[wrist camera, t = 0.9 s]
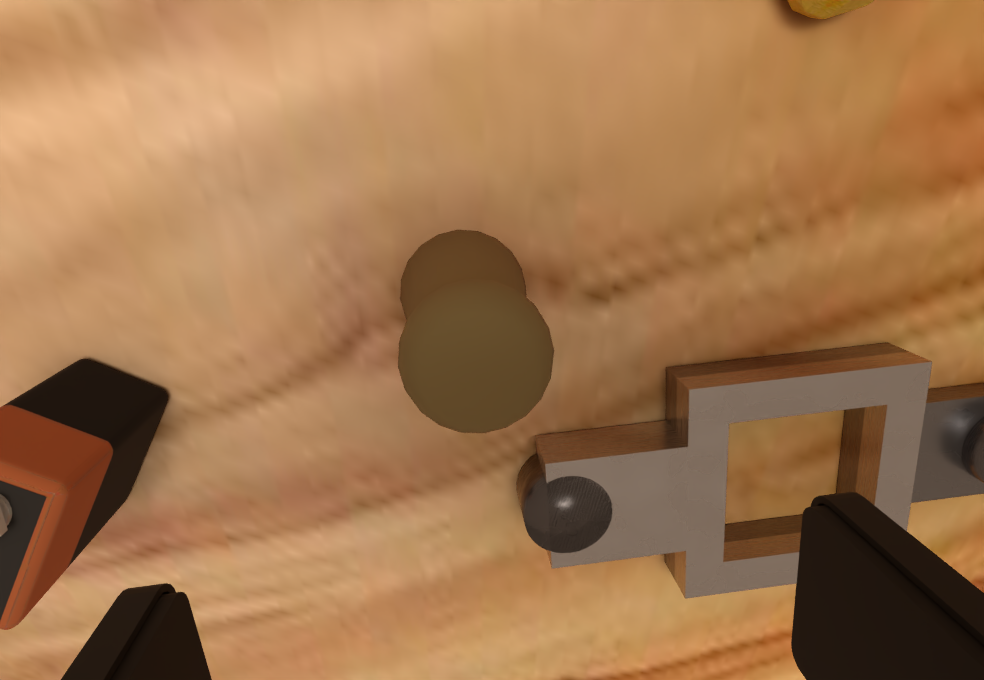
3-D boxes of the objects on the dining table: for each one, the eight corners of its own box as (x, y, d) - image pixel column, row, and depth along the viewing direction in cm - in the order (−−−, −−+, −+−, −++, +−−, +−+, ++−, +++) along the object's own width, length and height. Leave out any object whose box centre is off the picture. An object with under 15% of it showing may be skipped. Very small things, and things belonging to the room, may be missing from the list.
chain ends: (1034, 326, 33) (1091, 343, 30) (995, 518, 36) (1042, 549, 34) (508, 385, 31) (515, 409, 28) (524, 580, 35) (532, 619, 32)
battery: (175, 389, 29) (51, 505, 20) (128, 501, 31) (-6, 658, 22) (82, 352, 29) (-93, 455, 19) (39, 469, 30) (-142, 618, 21)
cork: (484, 373, 31) (510, 491, 20) (377, 315, 29) (345, 409, 19) (549, 271, 29) (613, 340, 19) (440, 204, 28) (444, 240, 18)
